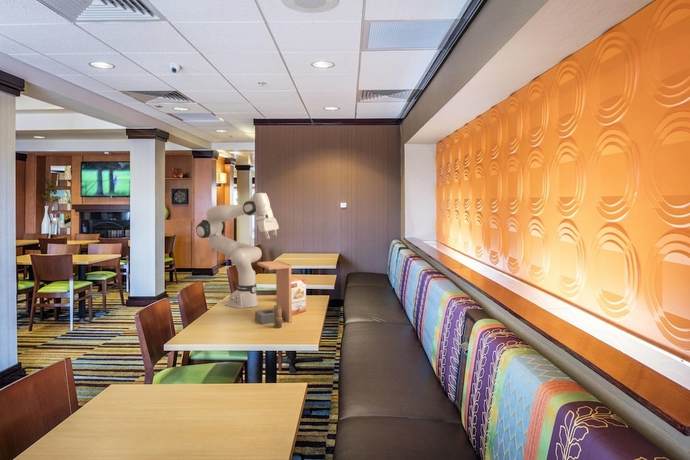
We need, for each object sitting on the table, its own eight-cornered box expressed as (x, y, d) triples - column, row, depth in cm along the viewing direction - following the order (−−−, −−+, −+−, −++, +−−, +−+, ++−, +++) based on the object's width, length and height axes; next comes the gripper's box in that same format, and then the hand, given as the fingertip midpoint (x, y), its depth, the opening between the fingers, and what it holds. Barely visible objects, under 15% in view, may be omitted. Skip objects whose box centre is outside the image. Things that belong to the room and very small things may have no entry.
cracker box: (290, 316, 252) (290, 282, 251) (283, 314, 256) (283, 280, 254) (306, 311, 263) (306, 278, 262) (299, 309, 267) (299, 277, 265)
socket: (262, 324, 235) (261, 315, 235) (255, 319, 245) (255, 310, 245) (282, 321, 241) (282, 313, 241) (274, 316, 251) (274, 308, 251)
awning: (269, 325, 233) (269, 266, 231) (258, 317, 250) (257, 262, 248) (291, 322, 240) (291, 265, 237) (278, 314, 257) (278, 260, 255)
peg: (272, 327, 229) (272, 306, 229) (277, 325, 233) (277, 304, 232) (278, 328, 227) (278, 307, 227) (283, 326, 231) (282, 305, 230)
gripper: (269, 217, 272) (274, 237, 272) (254, 218, 252) (260, 241, 252) (277, 214, 270) (283, 235, 270) (263, 216, 250) (269, 238, 250)
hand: (272, 238), depth 261 cm, fingers open, 8 cm apart
